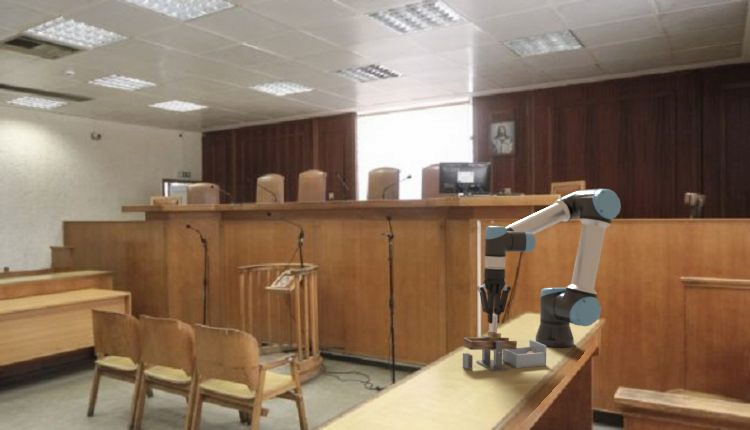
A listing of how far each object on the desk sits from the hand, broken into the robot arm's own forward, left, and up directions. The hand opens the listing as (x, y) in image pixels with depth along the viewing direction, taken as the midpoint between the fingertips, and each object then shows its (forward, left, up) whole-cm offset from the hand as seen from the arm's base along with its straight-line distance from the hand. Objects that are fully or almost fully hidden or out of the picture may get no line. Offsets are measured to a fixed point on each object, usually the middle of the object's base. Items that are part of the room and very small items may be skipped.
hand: (493, 331), depth 198 cm
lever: (+7, +5, -3) cm, 9 cm away
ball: (-9, +9, -8) cm, 15 cm away
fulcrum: (+9, +9, -10) cm, 16 cm away
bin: (-7, +9, -10) cm, 15 cm away
